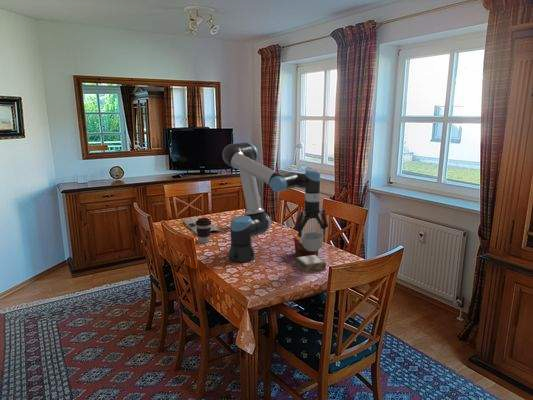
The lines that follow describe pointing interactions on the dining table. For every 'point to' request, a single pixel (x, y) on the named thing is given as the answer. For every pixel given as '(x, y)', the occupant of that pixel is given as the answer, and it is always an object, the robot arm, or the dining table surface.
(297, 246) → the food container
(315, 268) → the pedestal
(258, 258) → the dining table surface
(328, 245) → the dining table surface
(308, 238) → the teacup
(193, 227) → the newspaper
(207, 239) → the coffee cup
